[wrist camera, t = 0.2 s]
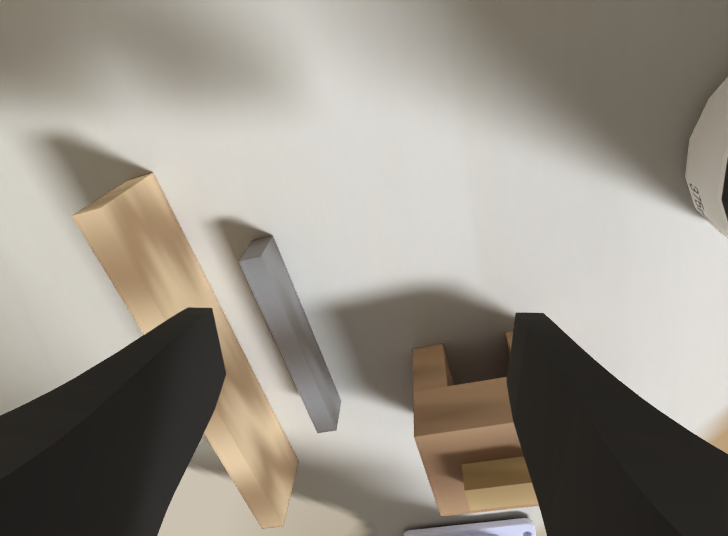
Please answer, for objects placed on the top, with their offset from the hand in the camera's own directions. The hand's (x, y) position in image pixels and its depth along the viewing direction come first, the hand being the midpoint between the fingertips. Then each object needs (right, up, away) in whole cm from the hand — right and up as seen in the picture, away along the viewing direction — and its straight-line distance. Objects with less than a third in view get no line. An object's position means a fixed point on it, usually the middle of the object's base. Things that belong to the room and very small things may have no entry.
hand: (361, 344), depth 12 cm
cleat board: (-5, -1, +13) cm, 14 cm away
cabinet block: (+6, -4, +13) cm, 15 cm away
